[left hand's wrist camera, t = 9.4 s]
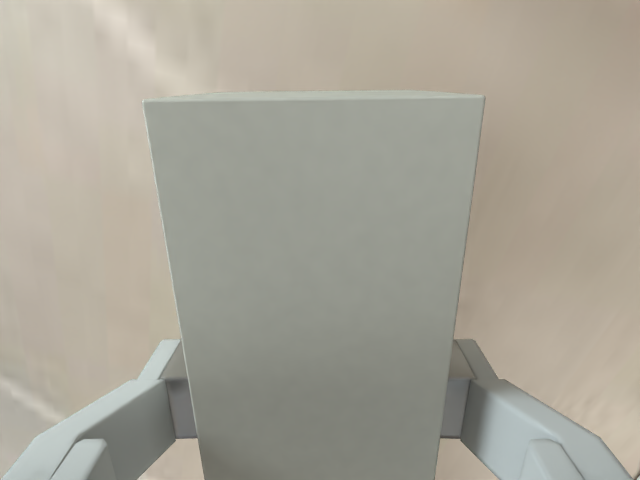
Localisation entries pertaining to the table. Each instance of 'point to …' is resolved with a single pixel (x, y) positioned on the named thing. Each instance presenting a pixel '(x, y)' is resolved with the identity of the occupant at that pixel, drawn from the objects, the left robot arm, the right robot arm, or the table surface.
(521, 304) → the table surface
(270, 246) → the beam
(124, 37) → the table surface
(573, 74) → the table surface
